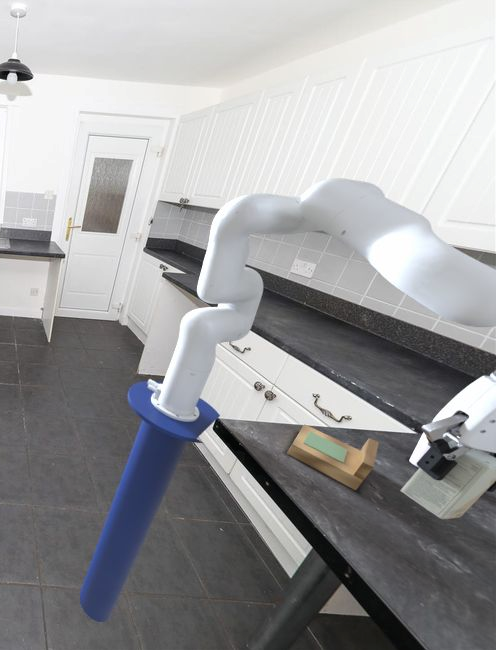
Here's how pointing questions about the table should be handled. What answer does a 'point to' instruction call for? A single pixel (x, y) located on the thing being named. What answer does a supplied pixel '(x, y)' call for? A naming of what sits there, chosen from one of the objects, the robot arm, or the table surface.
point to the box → (454, 485)
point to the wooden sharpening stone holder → (334, 456)
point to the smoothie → (420, 450)
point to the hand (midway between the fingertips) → (452, 477)
